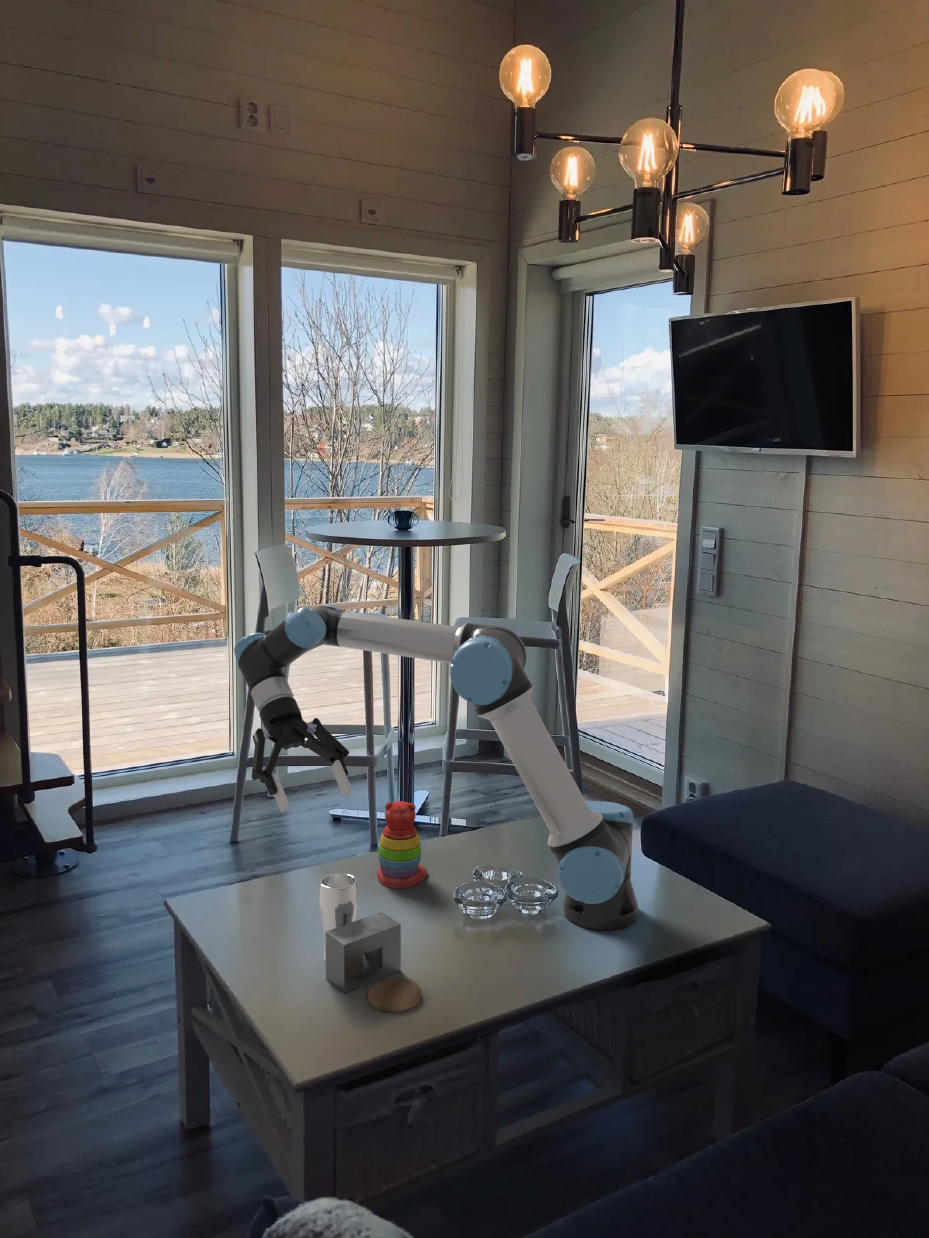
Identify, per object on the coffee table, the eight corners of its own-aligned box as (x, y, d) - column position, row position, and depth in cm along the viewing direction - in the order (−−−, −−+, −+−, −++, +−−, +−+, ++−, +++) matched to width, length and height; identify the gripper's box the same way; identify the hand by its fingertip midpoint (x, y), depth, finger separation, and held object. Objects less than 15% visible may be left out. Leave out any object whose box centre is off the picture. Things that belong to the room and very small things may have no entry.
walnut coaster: (424, 984, 171) (424, 979, 170) (416, 1014, 162) (416, 1008, 162) (373, 981, 171) (373, 976, 171) (363, 1010, 163) (363, 1005, 162)
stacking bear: (428, 871, 217) (429, 795, 214) (419, 891, 207) (420, 811, 204) (381, 867, 218) (381, 792, 215) (370, 887, 208) (370, 808, 205)
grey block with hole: (326, 978, 172) (325, 931, 171) (381, 957, 180) (381, 911, 178) (344, 993, 168) (343, 944, 166) (400, 970, 175) (400, 924, 174)
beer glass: (316, 950, 182) (315, 875, 179) (353, 944, 184) (352, 870, 182) (324, 969, 175) (323, 891, 173) (362, 962, 178) (361, 885, 175)
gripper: (324, 705, 201) (364, 795, 192) (211, 725, 185) (250, 824, 176) (338, 686, 196) (380, 777, 187) (223, 704, 180) (264, 805, 171)
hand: (317, 800), depth 182 cm, fingers open, 13 cm apart
